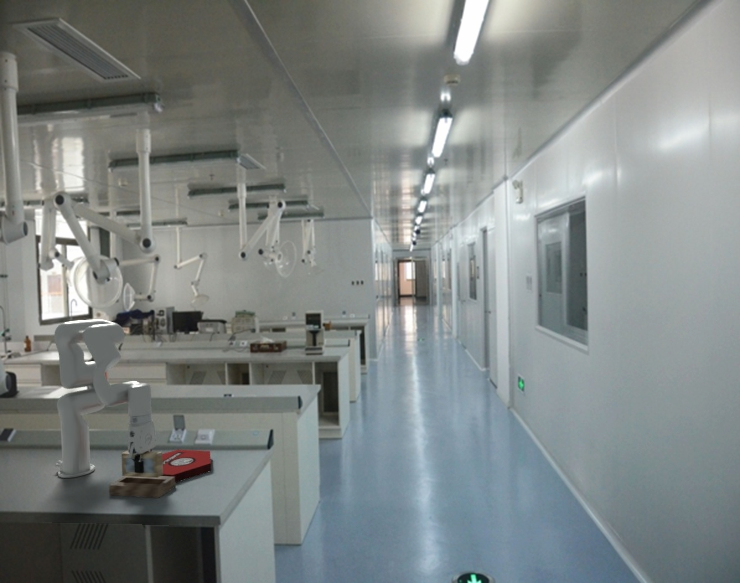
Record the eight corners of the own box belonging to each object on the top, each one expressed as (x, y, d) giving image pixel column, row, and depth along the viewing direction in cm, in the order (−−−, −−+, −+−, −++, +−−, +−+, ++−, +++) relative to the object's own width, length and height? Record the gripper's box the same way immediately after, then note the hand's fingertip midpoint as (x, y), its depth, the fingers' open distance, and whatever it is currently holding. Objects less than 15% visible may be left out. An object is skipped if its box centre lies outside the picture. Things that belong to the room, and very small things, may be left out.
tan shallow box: (109, 495, 179) (109, 485, 179) (128, 483, 189) (127, 474, 189) (158, 497, 176) (158, 487, 176) (175, 486, 185) (174, 476, 185)
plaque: (119, 481, 193) (192, 485, 187) (119, 471, 193) (192, 475, 187) (161, 457, 219) (227, 460, 213) (161, 448, 219) (226, 451, 213)
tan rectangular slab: (122, 475, 182) (121, 453, 182) (127, 472, 185) (127, 450, 185) (158, 477, 179) (157, 454, 179) (163, 474, 182) (162, 451, 182)
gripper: (135, 425, 173) (137, 480, 173) (163, 413, 189) (165, 463, 189) (115, 425, 174) (117, 479, 175) (145, 413, 191) (147, 462, 191)
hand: (142, 470), depth 182 cm, fingers closed on tan rectangular slab, 3 cm apart
